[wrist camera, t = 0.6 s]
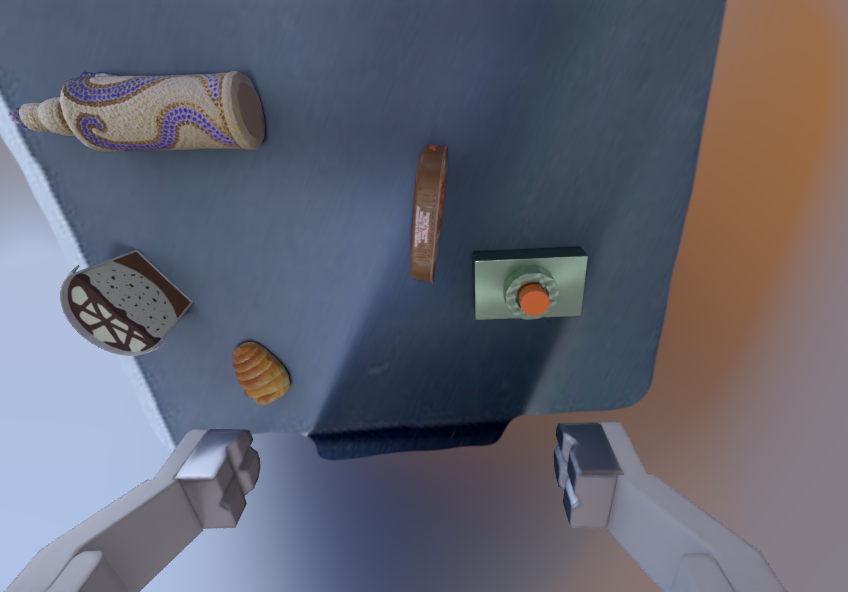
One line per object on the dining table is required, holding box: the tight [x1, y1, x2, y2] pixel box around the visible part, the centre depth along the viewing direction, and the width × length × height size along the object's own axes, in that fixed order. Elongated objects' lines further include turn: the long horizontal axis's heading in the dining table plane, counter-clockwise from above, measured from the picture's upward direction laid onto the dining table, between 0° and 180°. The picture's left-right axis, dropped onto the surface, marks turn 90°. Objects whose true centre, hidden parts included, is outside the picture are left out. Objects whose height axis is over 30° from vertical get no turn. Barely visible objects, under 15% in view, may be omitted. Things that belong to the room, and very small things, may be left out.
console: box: [473, 247, 588, 320], centre depth 51 cm, size 8×13×5 cm, turn 94°
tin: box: [410, 145, 448, 283], centre depth 46 cm, size 15×3×8 cm, turn 175°
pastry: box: [232, 342, 290, 405], centre depth 60 cm, size 9×7×4 cm
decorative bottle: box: [9, 71, 265, 152], centre depth 43 cm, size 26×8×7 cm, turn 91°
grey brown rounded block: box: [60, 249, 193, 356], centre depth 52 cm, size 12×6×10 cm, turn 36°
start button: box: [518, 283, 549, 316], centre depth 48 cm, size 3×3×2 cm
